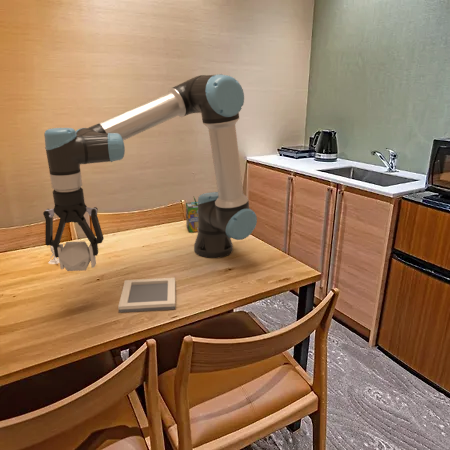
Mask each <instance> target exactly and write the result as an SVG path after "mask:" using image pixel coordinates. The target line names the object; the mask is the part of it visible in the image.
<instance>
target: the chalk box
mask: <svg viewBox="0 0 450 450" xmlns="http://www.w3.org/2000/svg"><path fill="white" fill-rule="evenodd" d="M192 198H193V200H194V201H192V202H190V201H189V202H185V217H186V218H185V219H186V224H185V225H186V229H187V231H188V233H198V205H197V204H198V201H197V200H196V198H195V196H193V197H192Z"/></svg>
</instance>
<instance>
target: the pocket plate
mask: <svg viewBox="0 0 450 450" xmlns="http://www.w3.org/2000/svg"><path fill="white" fill-rule="evenodd" d="M117 307H118V313H136V312H137V313H138V312H151V311H152V312H154V311H155V312H156V311H169V310H176V277H163V278H162V277H161V278H160V277H158V278H140V279H139V278H138V279H124V283H123V287H122V290H121V294H120V298H119V302H118V306H117Z"/></svg>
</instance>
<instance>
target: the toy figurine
mask: <svg viewBox="0 0 450 450" xmlns="http://www.w3.org/2000/svg"><path fill="white" fill-rule="evenodd" d="M50 252H51V256H50V259H49V260H50V261H49V260H48V261H49V262H48V261H47V263H48V264H49V265H57V264H60V262H59V258H58V257H57V258H58V259H57V258H56V257H55V253H54V248H53V246H50ZM51 258H52V259H53V260H52V259H51Z"/></svg>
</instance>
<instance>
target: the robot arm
mask: <svg viewBox="0 0 450 450" xmlns="http://www.w3.org/2000/svg"><path fill="white" fill-rule="evenodd" d="M244 103H245V93H244V88H243V87H242V85H241V84H240V82H239V80H237V79H236V78H235V77H233V76H231V75H226V74H222V73H221V74H220V73H219V74H218V73H217V74H207V75H206V74H202V75H197V76H194V77H192V78H189V79H188V80H186V81H184V82H181V83H179V84H177V85H175V86H173V87H171V88H169V89H168V92H167V93H165V94H163V95H160V96H159V97H156V98H153V99H151V100H149V101H147V102H144V103H142V104H140V105H138V106H135V107H133V108H131V109H128V110H126V111H123V112H121V113H119V114H117V115H114V116H112V117H110V118H107V119H105V120H103V121H101V122H98V123H96V124H94V125H91V126H89V127H81V128H78V129H77V130H75V129H74V128H72V127H54V128H48V129H46V130H45V132H44V145H45V147H44V148H45V154H46V160H47V165H48V169H49V177H50V184H51V188H52V189H53V190H52V196H53V204H54V207H53V208H46V209H45V211H43V213H42V214H43V217H44V219H45V231H44V232H45V233H44V234H45V235H44V237H45V241H44V242H45V245H46V246H47V247H48V246H50V247H51V246H53V248H54V250H53V251H54V253H55V257H56V258H58V257H59V255H60V253H61V251H62V249H63V247H64V243H61V239H62V236H63V233H64V230H65V228H66V227H65V226H66V224H69V223H77V224H78V226H79V227H80V228H81V230H82V231H83V233H84V234H85V236H86V238H87V240H88V241H89V243H90V244H89V245H88V247H89V251H90V259H91V261H90V264H91V268H93V269H94V268H95V267H96V265H97V260H96V256H98V253H99V244H102V243H103V241H104V234H103V231H102V229H101V228H102V227H101V224H100V221H99V218H98V208H97V206H94V207H88V206H87V204H86V203H85V202H86V201H85V197H84V189H83V180H82V172H81V165H87V164H89V165H90V164H98V163H108V162H109V163H112V162H116V161H121V160H123V159H124V157H125V153H126V152H125V150H126V149H125V141H126V140H128V139H130V138H132V137H134V136H137V135H139V134H141V133H143V132H146V131H148V130H150V129H152V128H154V127H156V126H159V125H160V124H163V123H166V122H167V121H169V120H172V119H173V118H176V117H179V118H183V117H185V116H188V115H192V114H201V119H202V124H203V125H204V126H206V127H207V129H208V134H209V141H210V142H209V143H210V146H211V154H212V161H213V162H212V163H213V169H214V175H215V181H216V189H217V191H213V192H205V193H202V194H200V195H199V196H197V197H198V198H197V202H198V204H197V205H198V232H197V235H196V237H195V241H194V244H193V248H194V253H195V254H196V255H198V256H200V257H204V258H210V259H217V258H223V257H227V256H229V255H231V254H232V253H233V251H234V245H233V242H232V239H233V240H236V241H240V240H244V239H246V238H248V237H249V236H250V235H251V234H252V233H253V231H254V230H255V229H256V226H257V223H258V221H257V220H258V217H257V214H256V212H255V211H254V210H253V209H251V208H250V200H249V197H248V196H247V195H246V194H244V190H243V189H244V188H243V181H242V180H243V179H242V170H241V162H240V154H239V146H238V138H237V129H236V123H238V121H239V120H240V112H241V111H242V107H243V106H244ZM86 213H87V214H88V216H89V217H90V221H91V223H92V228H93V230H92V229H91V227H90V225H89V224H88V222H87V219H86V217H85V216H84V215H85V214H86ZM55 215H56V216H57V217H58V218H59V222H58V225H57V229H56V232H55V236H53V235H54V230H53V229H54V223H53V222H54V216H55ZM93 231H94V232H93ZM53 237H54V239H53ZM59 262H60V263H59V266H60V267H59V268H60V270H64V269H65V267H64V265H63V264H62V262H61V261H60V259H59Z"/></svg>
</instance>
